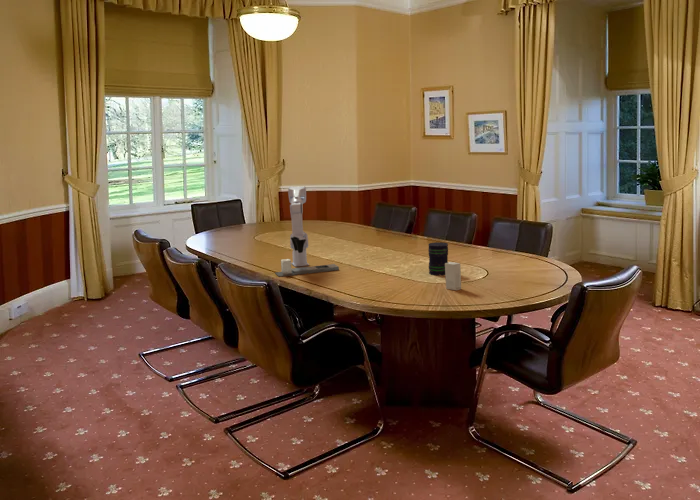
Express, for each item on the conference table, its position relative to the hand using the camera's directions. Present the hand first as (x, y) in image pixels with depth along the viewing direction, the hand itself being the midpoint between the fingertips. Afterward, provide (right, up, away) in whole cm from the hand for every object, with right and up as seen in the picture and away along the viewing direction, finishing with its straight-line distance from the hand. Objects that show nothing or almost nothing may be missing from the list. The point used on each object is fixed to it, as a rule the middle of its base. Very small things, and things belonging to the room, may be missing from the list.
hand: (298, 251), depth 363 cm
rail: (+9, -10, 0) cm, 13 cm away
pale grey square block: (-6, -11, -5) cm, 14 cm away
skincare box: (+74, -17, -48) cm, 90 cm away
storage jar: (+72, -11, -16) cm, 74 cm away
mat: (-7, -12, -5) cm, 14 cm away
